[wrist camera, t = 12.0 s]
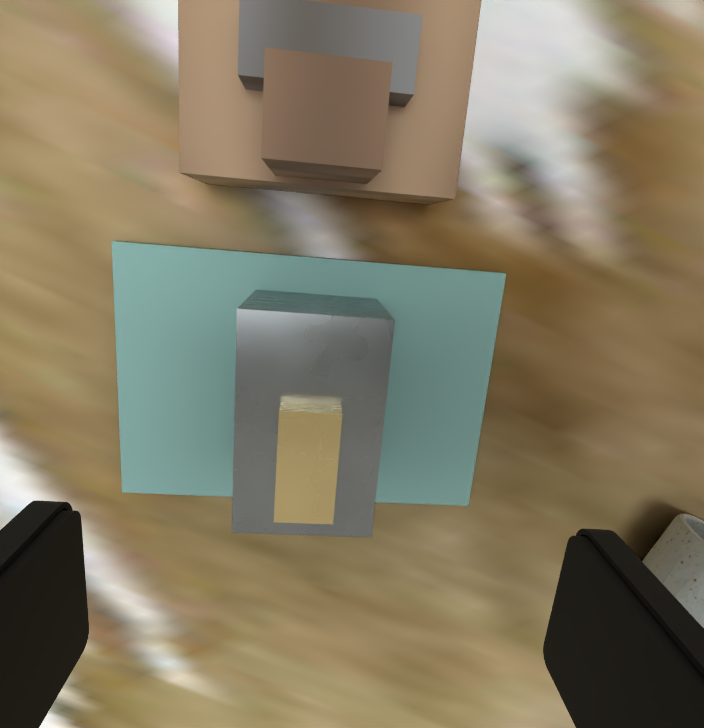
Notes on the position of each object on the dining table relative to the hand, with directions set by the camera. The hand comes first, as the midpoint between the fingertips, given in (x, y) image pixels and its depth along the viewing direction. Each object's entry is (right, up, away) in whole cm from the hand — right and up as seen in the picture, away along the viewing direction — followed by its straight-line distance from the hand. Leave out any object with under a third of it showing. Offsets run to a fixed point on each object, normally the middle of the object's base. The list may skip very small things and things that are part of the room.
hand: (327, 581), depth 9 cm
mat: (-2, +3, +13) cm, 13 cm away
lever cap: (-1, +3, +12) cm, 13 cm away
